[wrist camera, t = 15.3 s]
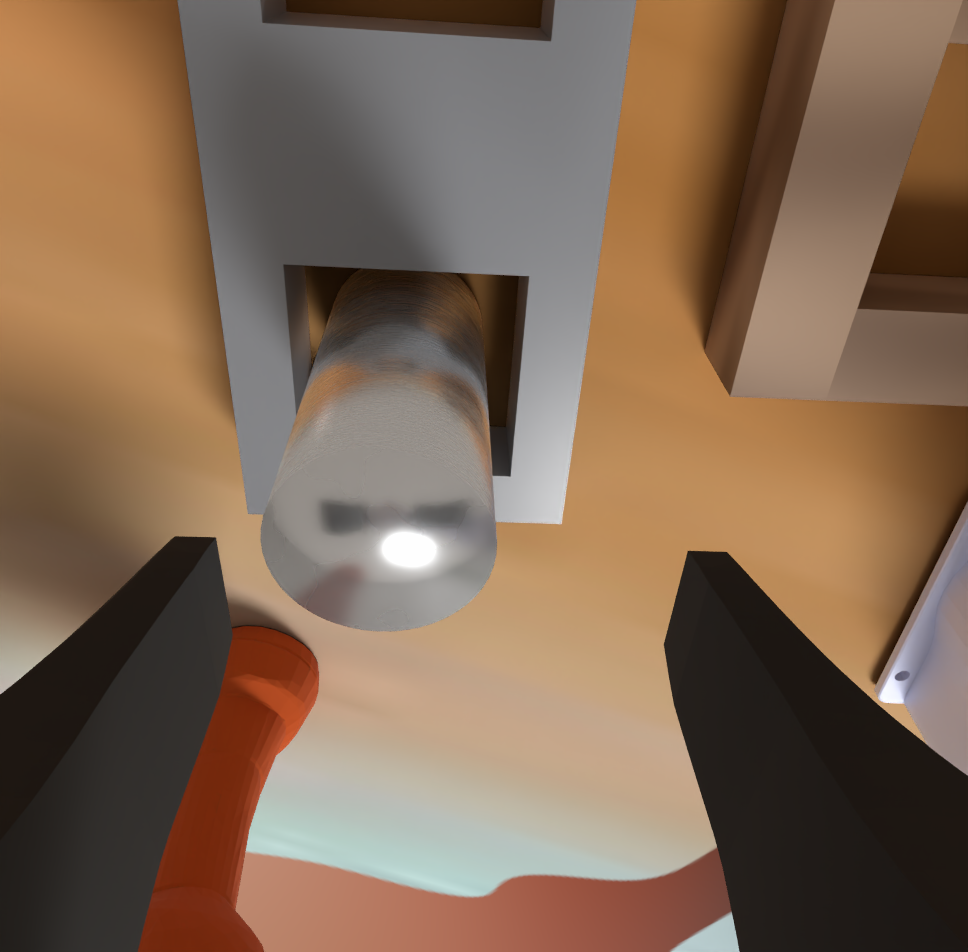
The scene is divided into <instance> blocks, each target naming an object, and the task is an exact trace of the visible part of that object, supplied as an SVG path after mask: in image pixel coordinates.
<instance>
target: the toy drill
mask: <svg viewBox="0 0 968 952" xmlns="http://www.w3.org/2000/svg"><path fill="white" fill-rule="evenodd" d="M232 633H233V637H232V641H231V646H230V651H229V656H228V660H227V665H226V670H225V674H224V678H223V682H222V686H221V691H220V695H219V698H218V701H217V704H216V707H215V710H214V713H213V715H212V718H211V721H210V724H209V726H208V729H207V732H206V735H205V738H204V740H203V743H202V746H201V749H200V752H199V754H198V757H197V760H196V762H195V765H194V768H193V771H192V773H191V776H190V779H189V782H188V784H187V787H186V790H185V793H184V795H183V798H182V801H181V804H180V806H179V809H178V812H177V814H176V817H175V820H174V823H173V825H172V828H171V831H170V834H169V837H168V840H167V843H166V846H165V850H164V853H163V856H162V859H161V862H160V866H159V870H158V873H157V877H156V881H155V885H154V889H153V893H152V897H151V901H150V905H149V909H148V912H147V916H146V920H145V924H144V928H143V932H142V936H141V940H140V945H139V949H138V952H264V950H263V946H262V944H261V943H260V941H259V940H258V938H257V937H256V935H255V934H254V933H253V931H252V930H251V928H250V927H249V926H248V925H247V924H246V923H245V922H244V920H243V919H242V918H241V917H240V916H239V914H238V913H237V912H236V911H235V908H236V903H237V896H238V891H239V885H240V880H241V874H242V868H243V862H244V857H245V851H246V845H247V840H248V834H249V829H250V826H251V822H252V819H253V816H254V813H255V810H256V806H257V803H258V800H259V796H260V794H261V792H262V789H263V787H264V784H265V782H266V779H267V777H268V774H269V772H270V769H271V767H272V764H273V762H274V759H275V757H276V755H277V754H278V753H280V752H281V751H282V750H283V749H284V748H285V747H286V746H287V745H288V744H289V743H290V741H291V740H292V739H293V738H294V737H295V735H296V734H297V732H298V731H299V729H300V727H301V726H302V724H303V722H304V721H305V719H306V717H307V716H308V714H309V712H310V711H311V709H312V707H313V705H314V704H315V701H316V697H317V694H318V686H319V671H318V663H317V661H316V659H315V657H314V656H313V654H312V653H311V652H310V651H309V650H308V649H307V648H306V647H305V646H304V645H303V644H302V643H300V642H299V641H297V640H295V639H294V638H292V637H291V636H288V635H286V634H283V633H281V632H278V631H276V630H272V629H268V628H264V627H257V626H243V627H237V628H232Z"/></svg>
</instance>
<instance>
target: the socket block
mask: <svg viewBox="0 0 968 952" xmlns="http://www.w3.org/2000/svg"><path fill="white" fill-rule="evenodd" d="M948 43H958V44H968V0H787V4H786V8H785V12H784V16H783V21H782V25H781V29H780V33H779V38H778V42H777V46H776V50H775V55H774V59H773V63H772V67H771V72H770V76H769V80H768V84H767V89H766V93H765V97H764V101H763V106H762V110H761V114H760V118H759V123H758V127H757V131H756V135H755V140H754V144H753V148H752V152H751V157H750V161H749V165H748V169H747V174H746V178H745V182H744V186H743V190H742V195H741V199H740V203H739V207H738V212H737V216H736V220H735V224H734V229H733V233H732V237H731V241H730V246H729V250H728V254H727V258H726V263H725V267H724V271H723V275H722V280H721V284H720V288H719V292H718V297H717V301H716V305H715V309H714V314H713V318H712V322H711V326H710V331H709V335H708V339H707V343H706V348H705V354H706V355H707V357H708V359H709V361H710V362H711V364H712V366H713V368H714V369H715V371H716V373H717V375H718V376H719V378H720V380H721V382H722V383H723V385H724V387H725V388H726V390H727V392H728V394H729V395H730V397H752V398H777V399H801V400H826V401H850V402H875V403H900V404H924V405H949V406H968V278H962V277H942V276H922V275H901V274H881V273H870V270H871V267H872V264H873V261H874V258H875V255H876V252H877V249H878V247H879V244H880V241H881V238H882V235H883V232H884V229H885V226H886V223H887V220H888V217H889V214H890V212H891V209H892V206H893V203H894V200H895V197H896V194H897V191H898V188H899V185H900V182H901V179H902V177H903V174H904V171H905V168H906V165H907V162H908V159H909V156H910V153H911V150H912V147H913V144H914V142H915V139H916V136H917V133H918V130H919V127H920V124H921V121H922V118H923V115H924V112H925V109H926V107H927V104H928V101H929V98H930V95H931V92H932V89H933V86H934V83H935V80H936V77H937V74H938V71H939V69H940V66H941V63H942V60H943V57H944V54H945V51H946V48H947V45H948Z"/></svg>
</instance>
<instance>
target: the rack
mask: <svg viewBox="0 0 968 952" xmlns="http://www.w3.org/2000/svg"><path fill="white" fill-rule="evenodd" d="M635 6H636V0H543V4H542V16H541V28H534V27H518V26H503V25H487V24H472V23H456V22H441V21H425V20H410V19H394V18H378V17H363V16H347V15H332V14H316V13H301V12H287V10H286V0H178V8H179V15H180V22H181V29H182V37H183V44H184V51H185V59H186V66H187V73H188V80H189V88H190V95H191V102H192V109H193V117H194V124H195V131H196V139H197V146H198V153H199V160H200V168H201V175H202V182H203V190H204V197H205V204H206V211H207V219H208V226H209V233H210V241H211V248H212V255H213V262H214V270H215V277H216V284H217V292H218V299H219V306H220V313H221V321H222V328H223V335H224V342H225V350H226V357H227V364H228V372H229V379H230V386H231V393H232V401H233V408H234V415H235V423H236V430H237V437H238V444H239V452H240V459H241V466H242V474H243V481H244V488H245V495H246V503H247V510H248V514H264V512H265V509H266V506H267V503H268V500H269V497H270V494H271V491H272V488H273V485H274V482H275V479H276V476H277V473H278V470H279V467H280V464H281V461H282V458H283V455H284V452H285V449H286V446H287V443H288V440H289V437H290V434H291V431H292V428H293V425H294V422H295V419H296V416H297V413H298V410H299V407H300V404H301V401H302V398H303V395H304V392H305V389H306V385H307V382H308V379H309V376H310V373H311V370H312V362H311V348H310V334H309V320H308V306H307V292H306V277H305V265H306V266H327V267H348V268H369V269H389V270H410V271H431V272H452V273H473V274H494V275H514V276H519V283H518V295H517V307H516V318H515V330H514V342H513V353H512V365H511V376H510V388H509V400H508V411H507V423H506V427H493V426H489V430H490V445H491V460H492V475H493V491H494V506H495V521H496V522H517V523H548V524H561V523H562V516H563V509H564V502H565V495H566V488H567V481H568V474H569V467H570V460H571V453H572V446H573V439H574V432H575V425H576V418H577V411H578V404H579V397H580V390H581V383H582V376H583V369H584V362H585V355H586V348H587V341H588V334H589V327H590V320H591V313H592V306H593V299H594V292H595V285H596V278H597V271H598V264H599V257H600V250H601V243H602V236H603V229H604V222H605V215H606V208H607V201H608V195H609V188H610V181H611V174H612V167H613V160H614V153H615V146H616V139H617V132H618V125H619V118H620V111H621V104H622V97H623V90H624V83H625V76H626V69H627V62H628V55H629V48H630V41H631V34H632V27H633V20H634V13H635Z"/></svg>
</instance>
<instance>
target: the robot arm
mask: <svg viewBox="0 0 968 952" xmlns="http://www.w3.org/2000/svg"><path fill="white" fill-rule="evenodd" d="M232 637H233V633H232V627H231V621H230V616H229V610H228V604H227V598H226V593H225V587H224V581H223V576H222V570H221V564H220V558H219V553H218V547H217V541H216V538H214V537H179V536H175V537H174V538H173V539H171V540H170V541H169V542H168V543H167V544H166V545H165V546H164V547H163V548H162V549H161V550H160V551H159V552H158V553H157V554H156V555H155V556H153V557H152V558H151V559H150V560H149V561H148V562H147V563H146V564H145V565H144V566H143V567H142V568H141V569H140V570H139V571H138V572H137V573H136V574H135V575H134V576H133V577H132V578H131V579H130V580H129V581H128V582H127V583H126V584H125V585H124V586H123V587H122V588H121V589H120V590H119V591H118V592H117V593H116V594H115V595H114V596H113V597H112V598H111V599H109V600H108V601H107V602H106V603H105V604H104V605H103V606H102V607H101V608H100V609H99V610H98V611H97V612H96V613H94V614H93V615H92V616H91V617H90V618H89V619H88V620H87V621H86V622H85V623H84V624H83V625H82V626H80V627H79V628H78V629H77V630H76V631H75V632H74V633H73V634H72V635H71V636H70V637H68V638H67V639H66V640H65V641H64V642H63V643H62V644H60V645H59V646H58V647H57V648H56V649H55V650H53V651H52V652H51V653H50V654H49V655H48V656H46V657H45V658H44V659H43V660H42V661H41V662H39V663H38V664H37V665H36V666H35V667H33V668H32V669H31V670H30V671H29V672H28V673H26V674H25V675H24V676H23V677H22V678H21V679H19V680H18V681H17V682H16V683H14V684H13V685H12V686H11V687H9V688H8V689H7V690H6V691H4V692H3V693H2V694H0V952H138V949H139V945H140V940H141V936H142V932H143V928H144V924H145V920H146V916H147V912H148V909H149V905H150V901H151V897H152V893H153V889H154V885H155V881H156V877H157V873H158V870H159V866H160V862H161V859H162V856H163V853H164V850H165V846H166V843H167V840H168V837H169V834H170V831H171V828H172V825H173V823H174V820H175V817H176V814H177V812H178V809H179V806H180V804H181V801H182V798H183V795H184V793H185V790H186V787H187V784H188V782H189V779H190V776H191V773H192V771H193V768H194V765H195V762H196V760H197V757H198V754H199V752H200V749H201V746H202V743H203V740H204V738H205V735H206V732H207V729H208V726H209V724H210V721H211V718H212V715H213V713H214V710H215V707H216V704H217V701H218V698H219V695H220V691H221V686H222V682H223V678H224V674H225V670H226V665H227V660H228V656H229V651H230V646H231V641H232ZM664 648H665V655H666V661H667V667H668V674H669V680H670V685H671V690H672V696H673V701H674V706H675V709H676V713H677V716H678V720H679V723H680V726H681V730H682V733H683V736H684V740H685V743H686V746H687V749H688V753H689V756H690V759H691V762H692V766H693V769H694V772H695V775H696V779H697V782H698V785H699V788H700V791H701V795H702V798H703V801H704V804H705V808H706V811H707V814H708V817H709V821H710V824H711V827H712V830H713V833H714V837H715V840H716V844H717V848H718V851H719V855H720V859H721V862H722V866H723V871H724V876H725V881H726V886H727V890H728V895H729V900H730V905H731V910H732V915H733V920H734V925H735V930H736V935H737V940H738V946H739V951H740V952H968V502H967V504H966V506H965V508H964V510H963V512H962V514H961V516H960V518H959V520H958V522H957V524H956V526H955V528H954V530H953V532H952V534H951V536H950V538H949V540H948V542H947V544H946V546H945V548H944V550H943V552H942V554H941V556H940V558H939V560H938V562H937V564H936V566H935V568H934V570H933V572H932V574H931V576H930V578H929V580H928V582H927V584H926V586H925V588H924V590H923V592H922V594H921V596H920V598H919V600H918V602H917V604H916V606H915V608H914V610H913V612H912V614H911V616H910V618H909V620H908V622H907V624H906V626H905V628H904V630H903V632H902V634H901V636H900V638H899V640H898V642H897V644H896V646H895V648H894V650H893V652H892V654H891V656H890V658H889V660H888V662H887V664H886V666H885V668H884V670H883V672H882V674H881V676H880V678H879V680H878V682H877V684H876V686H875V690H874V691H875V693H876V695H877V697H878V698H879V700H880V701H882V702H886V703H904V705H905V706H906V708H907V710H908V712H909V713H910V715H911V717H912V719H913V720H914V722H915V724H916V726H917V727H918V729H919V731H920V733H921V734H922V736H923V738H924V740H925V741H926V743H927V744H925V743H924V742H923V741H922V740H920V739H919V738H918V737H917V736H915V735H914V734H913V733H912V732H910V731H909V730H908V729H907V728H905V727H904V726H903V725H902V724H900V723H899V722H898V721H897V720H895V719H894V718H893V717H892V716H891V715H890V714H888V713H887V712H886V711H885V710H884V709H883V708H881V707H880V706H879V705H878V704H877V703H876V702H874V701H873V700H872V699H871V698H870V697H869V696H868V695H867V694H866V693H865V692H864V691H862V690H861V689H860V688H859V687H858V686H857V685H856V684H855V683H854V682H853V681H851V680H850V679H849V678H848V677H847V676H846V675H845V674H844V673H843V672H842V671H841V670H840V669H839V668H838V667H836V666H835V665H834V664H833V663H832V662H831V661H830V660H829V659H828V658H827V657H826V656H825V655H824V654H823V653H822V652H821V651H820V650H819V649H818V648H817V647H816V646H815V645H814V644H813V643H812V642H811V641H810V640H809V639H808V638H807V637H806V636H805V635H804V634H803V633H802V632H801V631H800V630H799V629H798V628H797V627H796V626H795V624H794V623H793V622H792V621H791V620H790V619H789V618H788V617H787V616H786V615H785V614H784V613H783V612H782V611H781V610H780V609H779V608H778V607H777V605H776V604H775V603H774V602H773V601H772V600H771V599H770V598H769V597H768V596H767V595H766V594H765V593H764V591H763V590H762V589H761V588H760V587H759V586H758V585H757V584H756V583H755V582H754V581H753V579H752V578H751V577H750V576H749V575H748V574H747V573H746V572H745V571H744V570H743V569H742V567H741V566H740V565H739V564H738V563H737V562H736V561H735V560H734V559H733V558H732V557H731V556H730V555H729V554H728V553H727V552H708V551H688V553H687V557H686V561H685V565H684V568H683V572H682V576H681V580H680V584H679V588H678V592H677V596H676V599H675V603H674V607H673V611H672V615H671V619H670V623H669V627H668V631H667V634H666V638H665V642H664Z"/></svg>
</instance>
